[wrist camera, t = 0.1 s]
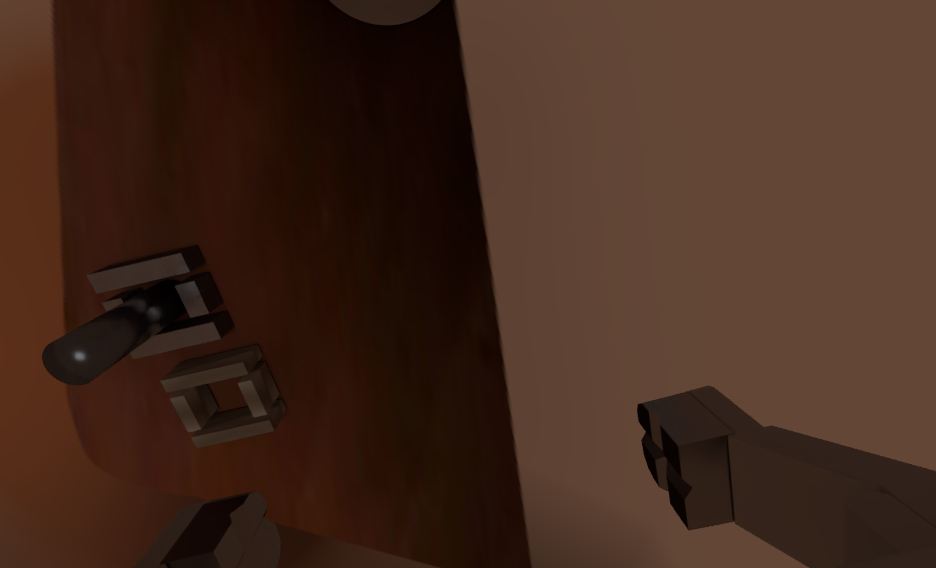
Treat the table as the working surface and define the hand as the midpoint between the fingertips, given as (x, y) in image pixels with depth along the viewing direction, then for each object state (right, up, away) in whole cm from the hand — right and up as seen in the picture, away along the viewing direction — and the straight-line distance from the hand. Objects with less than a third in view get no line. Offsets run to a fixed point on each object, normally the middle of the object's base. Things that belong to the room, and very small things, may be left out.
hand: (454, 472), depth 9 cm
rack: (-27, -8, +42) cm, 51 cm away
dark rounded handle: (-31, +3, +38) cm, 49 cm away
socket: (-31, +3, +38) cm, 49 cm away
